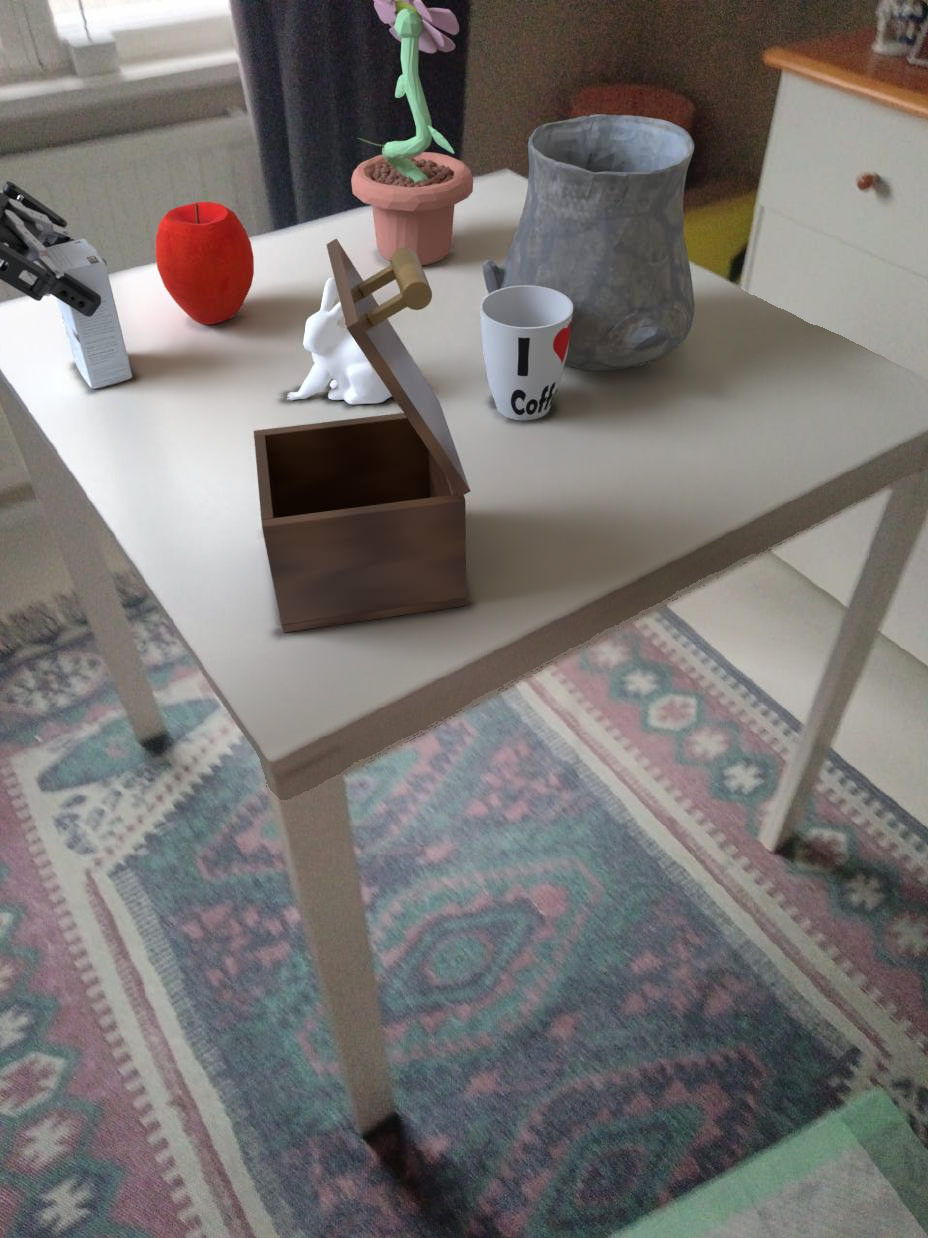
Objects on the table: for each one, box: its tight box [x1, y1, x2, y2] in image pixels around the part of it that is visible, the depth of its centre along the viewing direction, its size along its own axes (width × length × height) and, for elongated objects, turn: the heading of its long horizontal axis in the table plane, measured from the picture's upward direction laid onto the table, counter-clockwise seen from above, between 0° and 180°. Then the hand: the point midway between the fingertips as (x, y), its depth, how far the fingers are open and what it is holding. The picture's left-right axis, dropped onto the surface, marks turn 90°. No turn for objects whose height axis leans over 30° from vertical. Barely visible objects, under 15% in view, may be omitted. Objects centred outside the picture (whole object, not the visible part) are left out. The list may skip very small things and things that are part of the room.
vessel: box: [482, 113, 696, 371], centre depth 93 cm, size 22×22×20 cm
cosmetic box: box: [46, 238, 133, 390], centre depth 93 cm, size 6×4×12 cm
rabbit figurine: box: [286, 276, 397, 405], centre depth 92 cm, size 12×8×10 cm, turn 79°
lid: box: [326, 238, 471, 497], centre depth 64 cm, size 14×12×5 cm
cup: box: [479, 285, 573, 421], centre depth 89 cm, size 8×8×10 cm
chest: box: [253, 412, 468, 633], centre depth 72 cm, size 14×12×10 cm
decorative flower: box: [350, 0, 474, 266], centre depth 106 cm, size 15×14×30 cm
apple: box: [155, 201, 255, 325], centre depth 101 cm, size 10×10×12 cm
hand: (99, 289), depth 92 cm, fingers closed on cosmetic box, 7 cm apart
